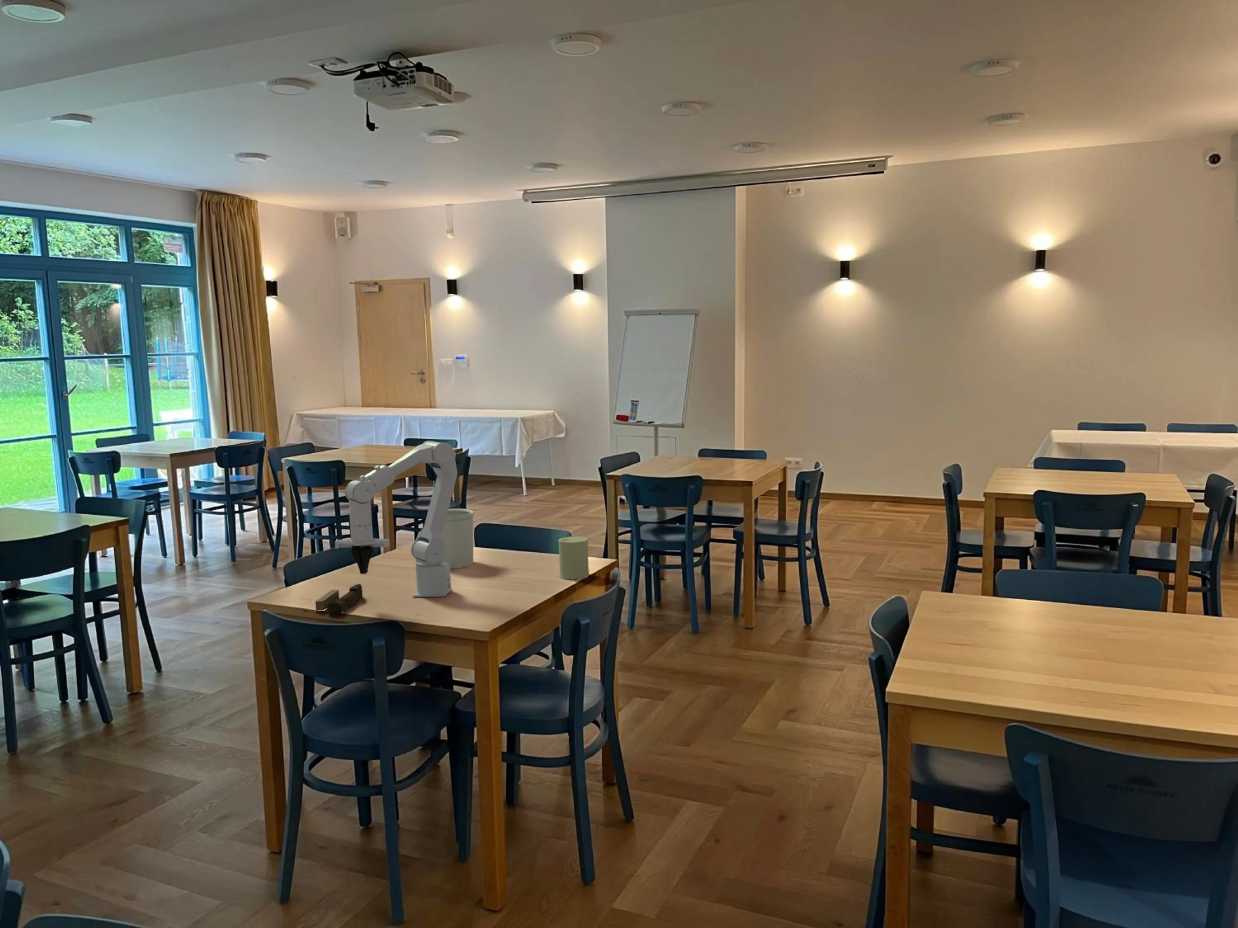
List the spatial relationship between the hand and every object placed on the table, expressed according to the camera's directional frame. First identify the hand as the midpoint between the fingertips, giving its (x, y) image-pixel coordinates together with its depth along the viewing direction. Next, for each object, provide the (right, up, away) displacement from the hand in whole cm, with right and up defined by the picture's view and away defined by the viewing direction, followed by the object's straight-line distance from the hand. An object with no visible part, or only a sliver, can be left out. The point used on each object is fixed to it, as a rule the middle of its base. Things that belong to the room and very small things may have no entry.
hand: (364, 573), depth 246 cm
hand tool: (-5, -10, +2) cm, 11 cm away
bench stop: (-11, -9, +3) cm, 14 cm away
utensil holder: (+15, -3, +50) cm, 52 cm away
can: (+56, -5, +30) cm, 64 cm away
